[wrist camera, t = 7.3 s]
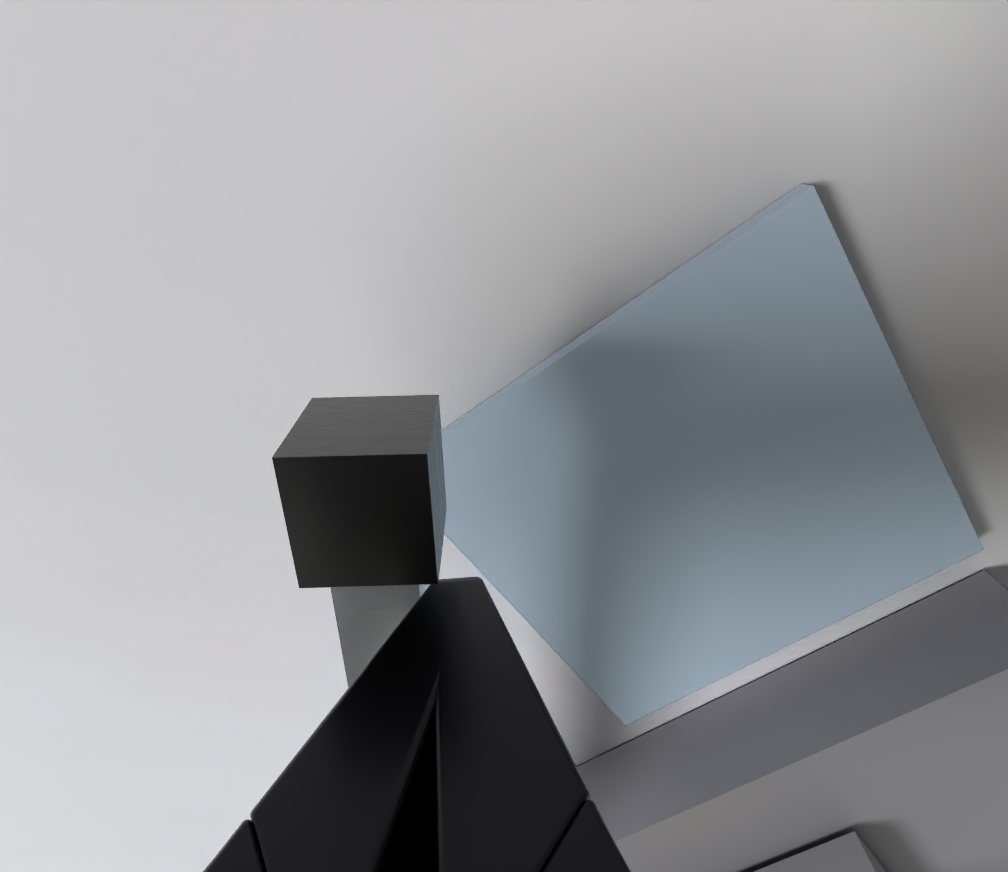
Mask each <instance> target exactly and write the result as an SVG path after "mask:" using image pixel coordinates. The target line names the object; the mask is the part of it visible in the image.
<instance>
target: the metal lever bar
mask: <svg viewBox="0 0 1008 872" xmlns="http://www.w3.org/2000/svg"><path fill="white" fill-rule="evenodd" d="M272 459H273V464H274V469H275V473H276V478H277V483H278V488H279V493H280V497H281V502H282V507H283V512H284V517H285V521H286V526H287V531H288V536H289V541H290V546H291V550H292V555H293V560H294V565H295V570H296V574H297V579H298V584H299V588H317V587H331V593H332V598H333V604H334V609H335V615H336V620H337V626H338V632H339V637H340V643H341V648H342V654H343V659H344V665H345V671H346V676H347V682H348V687H350V686H351V684H352V683H353V682H354V681H355V679H356V678H357V677H358V676H359V674H360V673H361V672H362V670H363V669H364V668H365V667H366V665H367V664H368V663H369V662H370V660H371V659H372V658H373V657H374V655H375V654H376V653H377V651H378V650H379V649H380V648H381V646H382V645H383V644H384V643H385V641H386V640H387V639H388V637H389V636H390V635H391V634H392V632H393V631H394V630H395V629H396V627H397V626H398V625H399V623H400V622H401V621H402V620H403V618H404V617H405V616H406V615H407V613H408V612H409V611H410V609H411V608H412V607H413V606H414V604H415V603H416V602H417V601H418V599H419V598H420V597H421V596H422V594H423V593H424V592H425V590H426V589H427V588H428V587H429V585H430V584H438V579H439V571H440V562H441V554H442V545H443V536H444V528H445V519H446V511H447V505H446V491H445V477H444V463H443V448H442V434H441V420H440V406H439V395H415V396H375V397H334V398H312V399H311V401H310V402H309V404H308V405H307V407H306V408H305V410H304V411H303V413H302V414H301V416H300V417H299V419H298V420H297V421H296V423H295V424H294V426H293V427H292V429H291V430H290V432H289V433H288V435H287V436H286V438H285V439H284V441H283V442H282V444H281V445H280V447H279V448H278V450H277V451H276V453H275V454H274V456H273V457H272Z"/></svg>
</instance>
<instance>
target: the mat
mask: <svg viewBox="0 0 1008 872" xmlns="http://www.w3.org/2000/svg"><path fill="white" fill-rule="evenodd" d="M441 434H442V448H443V463H444V477H445V491H446V505H447V511H446V519H445V528H444V534H445V535H446V536H447V537H448V538H449V539H450V540H451V541H452V542H453V543H454V544H455V546H456V547H457V548H458V549H459V550H460V551H461V552H462V553H463V554H464V555H465V556H466V557H467V558H468V559H469V560H470V561H471V562H472V564H473V565H474V566H475V567H476V568H477V569H478V570H479V571H480V572H481V573H482V574H483V575H484V576H485V577H486V578H487V579H488V581H489V582H490V583H491V584H492V585H493V586H494V587H495V588H496V589H497V590H498V591H499V592H500V593H501V594H502V595H503V596H504V598H505V599H506V600H507V601H508V602H509V603H510V604H511V605H512V606H513V607H514V608H515V609H516V610H517V611H518V612H519V613H520V614H521V616H522V617H523V618H524V619H525V620H526V621H527V622H528V623H529V624H530V625H531V626H532V627H533V628H534V629H535V630H536V631H537V633H538V634H539V635H540V636H541V637H542V638H543V639H544V640H545V641H546V642H547V643H548V644H549V645H550V646H551V647H552V648H553V650H554V651H555V652H556V653H557V654H558V655H559V656H560V657H561V658H562V659H563V660H564V661H565V662H566V663H567V664H568V665H569V667H570V668H571V669H572V670H573V671H574V672H575V673H576V674H577V675H578V676H579V677H580V678H581V679H582V680H583V681H584V682H585V683H586V685H587V686H588V687H589V688H590V689H591V690H592V691H593V692H594V693H595V694H596V695H597V696H598V697H599V698H600V699H601V700H602V702H603V703H604V704H605V705H606V706H607V707H608V708H609V709H610V710H611V711H612V712H613V713H614V714H615V715H616V716H617V717H618V719H619V720H620V721H621V722H622V723H623V724H624V725H625V726H626V725H628V724H630V723H632V722H634V721H636V720H638V719H640V718H642V717H644V716H646V715H648V714H650V713H652V712H654V711H656V710H658V709H660V708H662V707H664V706H666V705H668V704H670V703H673V702H675V701H677V700H679V699H681V698H683V697H685V696H687V695H689V694H691V693H693V692H695V691H697V690H699V689H701V688H703V687H705V686H707V685H709V684H711V683H713V682H715V681H717V680H719V679H721V678H723V677H725V676H727V675H729V674H731V673H733V672H736V671H738V670H740V669H742V668H744V667H746V666H748V665H750V664H752V663H754V662H756V661H758V660H760V659H762V658H764V657H766V656H768V655H770V654H772V653H774V652H776V651H778V650H780V649H782V648H784V647H786V646H788V645H790V644H792V643H794V642H796V641H799V640H801V639H803V638H805V637H807V636H809V635H811V634H813V633H815V632H817V631H819V630H821V629H823V628H825V627H827V626H829V625H831V624H833V623H835V622H837V621H839V620H841V619H843V618H845V617H847V616H849V615H851V614H853V613H855V612H857V611H859V610H862V609H864V608H866V607H868V606H870V605H872V604H874V603H876V602H878V601H880V600H882V599H884V598H886V597H888V596H890V595H892V594H894V593H896V592H898V591H900V590H902V589H904V588H906V587H908V586H910V585H912V584H914V583H916V582H918V581H920V580H922V579H925V578H927V577H929V576H931V575H933V574H935V573H937V572H939V571H941V570H943V569H945V568H947V567H949V566H951V565H953V564H955V563H957V562H959V561H961V560H963V559H965V558H967V557H969V556H971V555H973V554H975V553H977V552H979V551H981V550H983V547H982V545H981V542H980V540H979V538H978V536H977V534H976V532H975V530H974V527H973V525H972V523H971V521H970V519H969V517H968V515H967V512H966V510H965V508H964V506H963V504H962V502H961V500H960V498H959V495H958V493H957V491H956V489H955V487H954V485H953V483H952V480H951V478H950V476H949V474H948V472H947V470H946V468H945V465H944V463H943V461H942V459H941V457H940V455H939V453H938V450H937V448H936V446H935V444H934V442H933V440H932V438H931V435H930V433H929V431H928V429H927V427H926V425H925V423H924V421H923V418H922V416H921V414H920V412H919V410H918V408H917V406H916V403H915V401H914V399H913V397H912V395H911V393H910V391H909V388H908V386H907V384H906V382H905V380H904V378H903V376H902V373H901V371H900V369H899V367H898V365H897V363H896V361H895V359H894V356H893V354H892V352H891V350H890V348H889V346H888V344H887V341H886V339H885V337H884V335H883V333H882V331H881V329H880V326H879V324H878V322H877V320H876V318H875V316H874V314H873V311H872V309H871V307H870V305H869V303H868V301H867V299H866V296H865V294H864V292H863V290H862V288H861V286H860V284H859V282H858V279H857V277H856V275H855V273H854V271H853V269H852V267H851V264H850V262H849V260H848V258H847V256H846V254H845V252H844V249H843V247H842V245H841V243H840V241H839V239H838V237H837V234H836V232H835V230H834V228H833V226H832V224H831V222H830V219H829V217H828V215H827V213H826V211H825V209H824V207H823V205H822V202H821V200H820V198H819V196H818V194H817V192H816V190H815V187H814V186H813V185H807V184H800V185H798V186H797V187H796V188H794V189H793V190H791V191H790V192H788V193H787V194H785V195H784V196H782V197H781V198H780V199H778V200H777V201H775V202H774V203H772V204H771V205H769V206H768V207H766V208H765V209H763V210H762V211H761V212H759V213H758V214H756V215H755V216H753V217H752V218H750V219H749V220H747V221H746V222H745V223H743V224H742V225H740V226H739V227H737V228H736V229H734V230H733V231H731V232H730V233H729V234H727V235H726V236H724V237H723V238H721V239H720V240H718V241H717V242H715V243H714V244H713V245H711V246H710V247H708V248H707V249H705V250H704V251H702V252H701V253H699V254H698V255H697V256H695V257H694V258H692V259H691V260H689V261H688V262H686V263H685V264H683V265H682V266H681V267H679V268H678V269H676V270H675V271H673V272H672V273H670V274H669V275H667V276H666V277H665V278H663V279H662V280H660V281H659V282H657V283H656V284H654V285H653V286H651V287H650V288H649V289H647V290H646V291H644V292H643V293H641V294H640V295H638V296H637V297H635V298H634V299H632V300H631V301H630V302H628V303H627V304H625V305H624V306H622V307H621V308H619V309H618V310H616V311H615V312H614V313H612V314H611V315H609V316H608V317H606V318H605V319H603V320H602V321H600V322H599V323H598V324H596V325H595V326H593V327H592V328H590V329H589V330H587V331H586V332H584V333H583V334H582V335H580V336H579V337H577V338H576V339H574V340H573V341H571V342H570V343H568V344H567V345H566V346H564V347H563V348H561V349H560V350H558V351H557V352H555V353H554V354H552V355H551V356H550V357H548V358H547V359H545V360H544V361H542V362H541V363H539V364H538V365H536V366H535V367H534V368H532V369H531V370H529V371H528V372H526V373H525V374H523V375H522V376H520V377H519V378H518V379H516V380H515V381H513V382H512V383H510V384H509V385H507V386H506V387H504V388H503V389H502V390H500V391H499V392H497V393H496V394H494V395H493V396H491V397H490V398H488V399H487V400H485V401H484V402H483V403H481V404H480V405H478V406H477V407H475V408H474V409H472V410H471V411H469V412H468V413H467V414H465V415H464V416H462V417H461V418H459V419H458V420H456V421H455V422H453V423H452V424H451V425H449V426H448V427H446V428H445V429H443V430H442V431H441Z"/></svg>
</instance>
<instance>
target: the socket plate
mask: <svg viewBox="0 0 1008 872" xmlns="http://www.w3.org/2000/svg"><path fill="white" fill-rule="evenodd" d="M577 769H578V771H579V773H580V775H581V777H582V779H583V781H584V783H585V785H586V787H587V789H588V791H589V793H590V800H592V801H594V802H595V804H596V806H597V808H598V810H599V812H600V814H601V816H602V818H603V820H604V822H605V824H606V826H607V828H608V830H609V832H610V834H611V836H612V838H613V840H614V842H615V843H616V845H617V847H618V849H619V851H620V853H621V854H622V856H623V858H624V860H625V862H626V864H627V865H628V867H629V869H630V871H631V872H754V871H756V870H759V869H761V868H764V867H766V866H769V865H771V864H774V863H776V862H779V861H781V860H784V859H786V858H789V857H791V856H794V855H796V854H799V853H801V852H804V851H806V850H809V849H811V848H814V847H816V846H819V845H821V844H824V843H826V842H829V841H831V840H834V839H836V838H839V837H841V836H843V835H846V834H848V833H851V832H853V831H855V832H856V834H857V835H858V836H859V838H860V839H861V840H862V841H863V843H864V844H865V845H866V846H867V848H868V849H869V850H870V852H871V853H872V854H873V855H874V857H875V858H876V859H877V860H878V862H879V863H880V864H881V866H882V867H883V868H884V869H885V871H886V872H1008V590H1007V589H1006V588H1005V587H1004V586H1003V585H1001V584H1000V583H999V582H998V581H997V580H996V579H995V578H994V577H992V576H991V575H990V574H989V573H988V572H987V571H986V570H983V571H981V572H979V573H977V574H975V575H973V576H971V577H969V578H966V579H964V580H962V581H960V582H958V583H956V584H954V585H952V586H950V587H948V588H946V589H944V590H942V591H940V592H938V593H935V594H933V595H931V596H929V597H927V598H925V599H923V600H921V601H919V602H917V603H915V604H913V605H911V606H909V607H907V608H904V609H902V610H900V611H898V612H896V613H894V614H892V615H890V616H888V617H886V618H884V619H882V620H880V621H878V622H876V623H873V624H871V625H869V626H867V627H865V628H863V629H861V630H859V631H857V632H855V633H853V634H851V635H849V636H847V637H845V638H842V639H840V640H838V641H836V642H834V643H832V644H830V645H828V646H826V647H824V648H822V649H820V650H818V651H816V652H814V653H811V654H809V655H807V656H805V657H803V658H801V659H799V660H797V661H795V662H793V663H791V664H789V665H787V666H785V667H782V668H780V669H778V670H776V671H774V672H772V673H770V674H768V675H766V676H764V677H762V678H760V679H758V680H756V681H754V682H751V683H749V684H747V685H745V686H743V687H741V688H739V689H737V690H735V691H733V692H731V693H729V694H727V695H725V696H723V697H720V698H718V699H716V700H714V701H712V702H710V703H708V704H706V705H704V706H702V707H700V708H698V709H696V710H694V711H692V712H689V713H687V714H685V715H683V716H681V717H679V718H677V719H675V720H673V721H671V722H669V723H667V724H665V725H663V726H661V727H658V728H656V729H654V730H652V731H650V732H648V733H646V734H644V735H642V736H640V737H638V738H636V739H634V740H632V741H630V742H627V743H625V744H623V745H621V746H619V747H617V748H615V749H613V750H611V751H609V752H607V753H605V754H603V755H601V756H599V757H596V758H594V759H592V760H590V761H588V762H586V763H584V764H582V765H580V766H578V767H577Z"/></svg>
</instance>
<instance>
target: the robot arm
mask: <svg viewBox="0 0 1008 872" xmlns="http://www.w3.org/2000/svg"><path fill="white" fill-rule="evenodd" d="M250 816H251V820H245V821H243V822H242V824H241V825H240V826H239V828H238V829H237V830H236V831H235V833H234V834H233V835H232V836H231V838H230V839H229V840H228V842H227V843H226V844H225V845H224V847H223V848H222V849H221V850H220V852H219V853H218V854H217V855H216V857H215V858H214V859H213V860H212V862H211V863H210V864H209V865H208V866H207V868H206V869H205V870H204V871H203V872H631V871H630V869H629V867H628V865H627V864H626V862H625V860H624V858H623V856H622V854H621V853H620V851H619V849H618V847H617V845H616V843H615V842H614V840H613V838H612V836H611V834H610V832H609V830H608V828H607V826H606V824H605V822H604V820H603V818H602V816H601V814H600V812H599V810H598V808H597V806H596V804H595V802H594V801H592V800H590V793H589V791H588V789H587V787H586V785H585V783H584V781H583V779H582V777H581V775H580V773H579V771H578V769H577V767H576V765H575V763H574V761H573V759H572V757H571V755H570V753H569V751H568V749H567V747H566V745H565V743H564V741H563V739H562V737H561V735H560V733H559V731H558V729H557V727H556V725H555V724H554V722H553V720H552V718H551V716H550V714H549V712H548V710H547V708H546V706H545V704H544V702H543V700H542V698H541V696H540V694H539V692H538V690H537V688H536V686H535V684H534V682H533V680H532V678H531V676H530V674H529V672H528V670H527V668H526V666H525V664H524V662H523V660H522V658H521V656H520V654H519V652H518V650H517V648H516V646H515V644H514V642H513V640H512V638H511V636H510V634H509V632H508V630H507V628H506V626H505V624H504V622H503V620H502V618H501V616H500V614H499V612H498V610H497V608H496V606H495V604H494V602H493V600H492V598H491V596H490V594H489V592H488V590H487V588H486V586H485V584H484V582H483V580H482V579H481V578H479V577H466V578H452V579H439V580H438V584H430V585H429V587H428V588H427V589H426V590H425V592H424V593H423V594H422V596H421V597H420V598H419V599H418V601H417V602H416V603H415V604H414V606H413V607H412V608H411V609H410V611H409V612H408V613H407V615H406V616H405V617H404V618H403V620H402V621H401V622H400V623H399V625H398V626H397V627H396V629H395V630H394V631H393V632H392V634H391V635H390V636H389V637H388V639H387V640H386V641H385V643H384V644H383V645H382V646H381V648H380V649H379V650H378V651H377V653H376V654H375V655H374V657H373V658H372V659H371V660H370V662H369V663H368V664H367V665H366V667H365V668H364V669H363V670H362V672H361V673H360V674H359V676H358V677H357V678H356V679H355V681H354V682H353V683H352V684H351V686H350V687H349V688H348V690H347V691H346V692H345V693H344V695H343V696H342V697H341V698H340V700H339V701H338V702H337V704H336V705H335V706H334V707H333V709H332V710H331V711H330V712H329V714H328V715H327V716H326V718H325V719H324V720H323V721H322V723H321V724H320V725H319V726H318V728H317V729H316V730H315V731H314V733H313V734H312V735H311V737H310V738H309V739H308V740H307V742H306V743H305V744H304V745H303V747H302V748H301V749H300V751H299V752H298V753H297V754H296V756H295V757H294V758H293V759H292V761H291V762H290V763H289V765H288V766H287V767H286V768H285V770H284V771H283V772H282V773H281V775H280V776H279V777H278V779H277V780H276V781H275V782H274V784H273V785H272V786H271V787H270V789H269V790H268V791H267V792H266V794H265V795H264V796H263V798H262V799H261V800H260V801H259V803H258V804H257V805H256V806H255V808H254V809H253V810H252V812H251V815H250ZM251 821H252V822H251Z"/></svg>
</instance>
